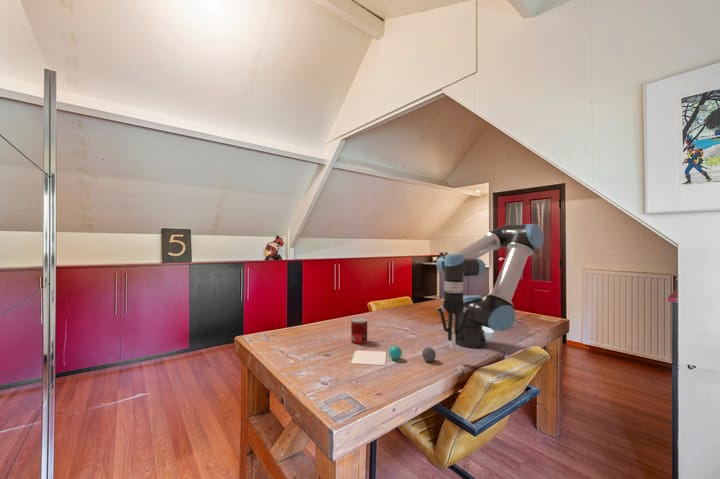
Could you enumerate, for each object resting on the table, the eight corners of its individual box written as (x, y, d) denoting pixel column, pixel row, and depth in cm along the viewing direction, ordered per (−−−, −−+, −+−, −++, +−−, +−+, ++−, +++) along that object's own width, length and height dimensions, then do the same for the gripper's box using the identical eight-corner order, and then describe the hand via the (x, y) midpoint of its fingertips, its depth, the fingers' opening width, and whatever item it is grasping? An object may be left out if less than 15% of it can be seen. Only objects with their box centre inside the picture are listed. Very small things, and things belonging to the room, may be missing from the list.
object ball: (401, 356, 128) (401, 344, 128) (401, 362, 123) (401, 348, 123) (388, 356, 129) (388, 343, 129) (388, 361, 123) (388, 348, 123)
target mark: (386, 352, 133) (386, 351, 133) (385, 365, 119) (385, 365, 119) (355, 350, 135) (355, 350, 135) (350, 363, 121) (350, 363, 121)
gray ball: (434, 358, 126) (434, 345, 126) (436, 364, 121) (436, 350, 121) (421, 357, 127) (421, 345, 127) (422, 363, 121) (422, 349, 121)
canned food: (365, 345, 142) (365, 322, 142) (349, 343, 144) (349, 321, 144) (368, 339, 150) (368, 318, 150) (353, 338, 151) (353, 317, 151)
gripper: (438, 292, 120) (437, 350, 119) (472, 293, 118) (471, 353, 118) (436, 289, 127) (435, 344, 127) (467, 290, 125) (467, 346, 125)
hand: (452, 348), depth 122 cm, fingers closed
